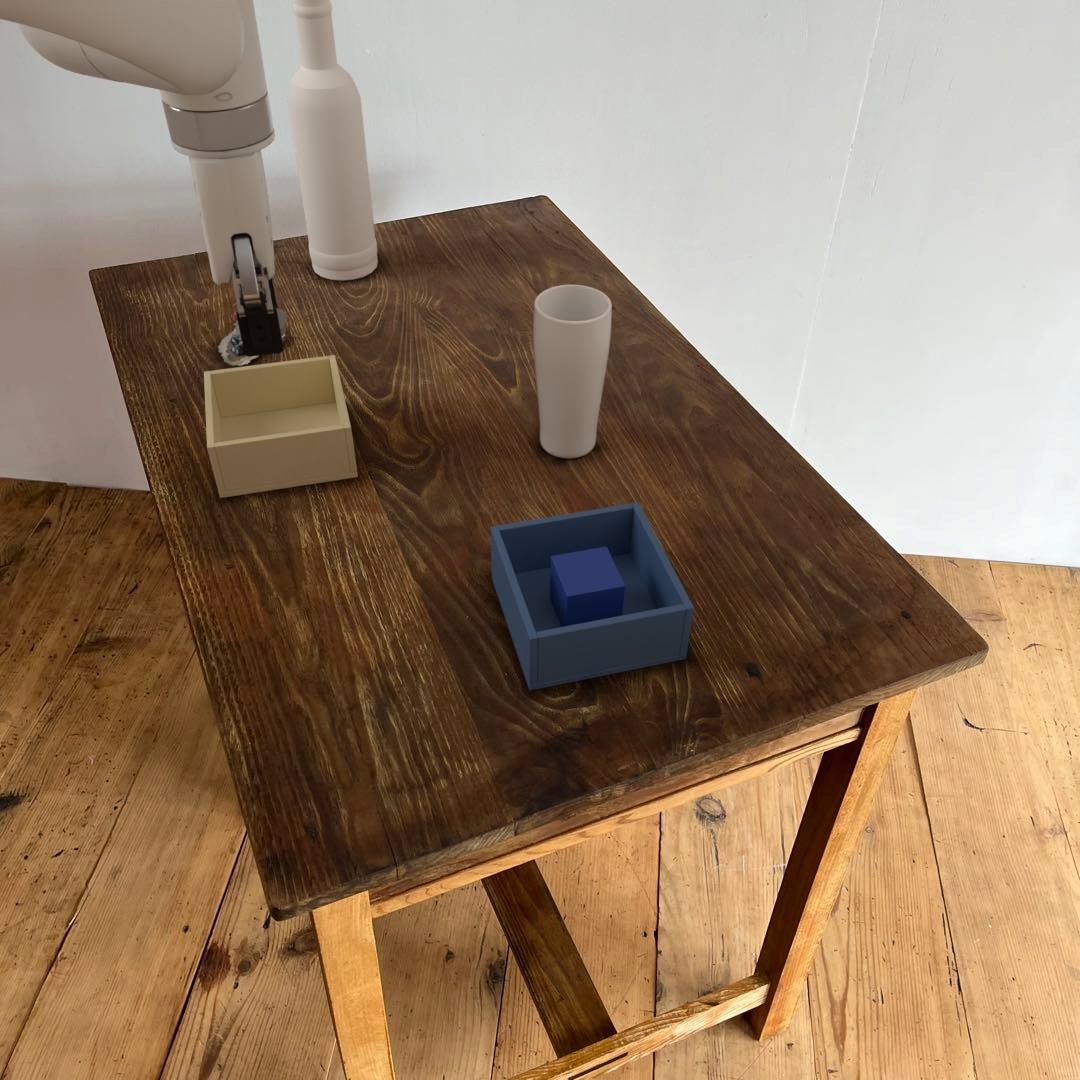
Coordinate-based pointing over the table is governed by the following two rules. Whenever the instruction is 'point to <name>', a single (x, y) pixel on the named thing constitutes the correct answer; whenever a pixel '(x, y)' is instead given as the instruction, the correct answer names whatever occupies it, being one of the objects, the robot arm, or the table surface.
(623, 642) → the blue bin
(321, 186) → the bottle
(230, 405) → the cream bin
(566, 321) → the drinking glass
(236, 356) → the grey flat lumpy piece
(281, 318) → the figurine
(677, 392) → the table surface
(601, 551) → the blue block
